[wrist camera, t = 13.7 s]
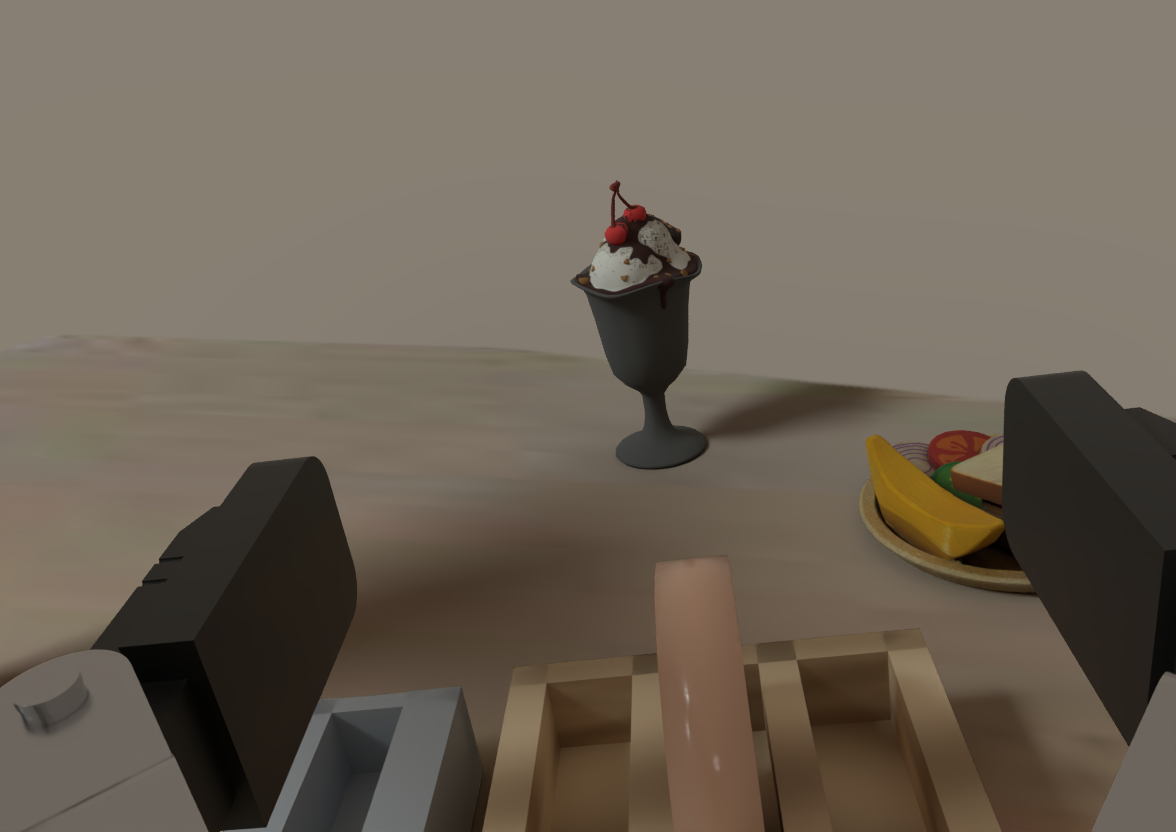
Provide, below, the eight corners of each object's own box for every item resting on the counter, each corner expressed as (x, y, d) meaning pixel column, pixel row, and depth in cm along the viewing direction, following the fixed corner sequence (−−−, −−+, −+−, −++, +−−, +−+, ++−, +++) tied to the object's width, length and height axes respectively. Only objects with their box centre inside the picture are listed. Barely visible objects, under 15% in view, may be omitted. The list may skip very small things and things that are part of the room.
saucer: (784, 1004, 26) (782, 960, 18) (714, 1009, 27) (682, 967, 18) (736, 640, 32) (719, 482, 24) (680, 646, 32) (643, 490, 24)
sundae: (631, 490, 51) (584, 196, 45) (583, 444, 57) (535, 179, 51) (745, 452, 53) (714, 165, 47) (687, 411, 59) (653, 151, 53)
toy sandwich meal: (1031, 433, 51) (1032, 344, 49) (1278, 558, 39) (1293, 447, 37) (808, 503, 48) (801, 412, 46) (1000, 662, 36) (1001, 548, 34)
